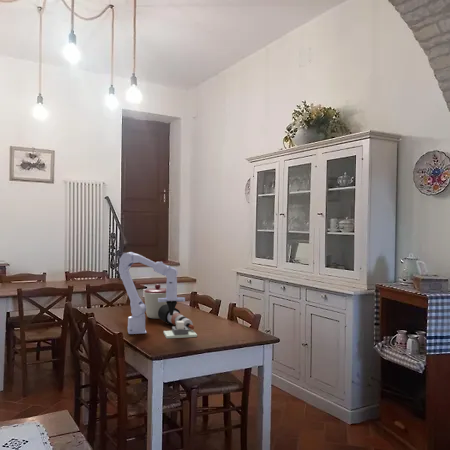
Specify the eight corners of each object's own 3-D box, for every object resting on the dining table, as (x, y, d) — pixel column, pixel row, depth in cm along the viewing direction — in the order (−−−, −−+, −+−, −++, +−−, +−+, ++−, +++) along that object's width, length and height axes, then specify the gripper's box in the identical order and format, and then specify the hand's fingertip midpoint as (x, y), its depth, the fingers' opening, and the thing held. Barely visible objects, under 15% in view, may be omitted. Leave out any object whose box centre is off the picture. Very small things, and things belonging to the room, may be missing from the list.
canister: (174, 315, 308) (174, 282, 308) (168, 320, 290) (168, 286, 290) (147, 314, 310) (147, 282, 310) (139, 319, 292) (139, 285, 292)
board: (166, 338, 246) (166, 331, 246) (163, 333, 257) (163, 326, 257) (196, 336, 250) (197, 329, 250) (192, 331, 261) (192, 325, 261)
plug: (177, 334, 250) (177, 322, 250) (176, 331, 255) (176, 320, 255) (183, 333, 251) (184, 322, 251) (182, 331, 256) (182, 320, 256)
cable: (188, 340, 256) (181, 325, 253) (161, 323, 284) (155, 309, 281) (203, 330, 261) (196, 315, 258) (175, 314, 289) (169, 301, 286)
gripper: (159, 291, 251) (158, 316, 251) (186, 290, 255) (185, 315, 255) (157, 289, 258) (157, 314, 258) (183, 288, 262) (183, 313, 262)
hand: (171, 315), depth 257 cm, fingers closed
